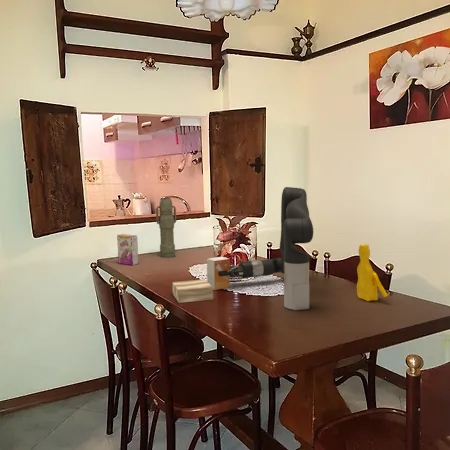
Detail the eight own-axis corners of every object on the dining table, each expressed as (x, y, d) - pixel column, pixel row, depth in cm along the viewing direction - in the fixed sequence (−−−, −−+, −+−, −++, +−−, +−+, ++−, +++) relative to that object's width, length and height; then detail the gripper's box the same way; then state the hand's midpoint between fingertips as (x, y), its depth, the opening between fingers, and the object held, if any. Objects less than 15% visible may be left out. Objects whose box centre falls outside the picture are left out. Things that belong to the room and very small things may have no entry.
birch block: (213, 299, 185) (213, 287, 184) (178, 302, 181) (178, 290, 180) (204, 290, 198) (204, 279, 197) (172, 293, 194) (172, 282, 194)
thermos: (179, 256, 276) (177, 198, 272) (161, 258, 271) (158, 199, 267) (174, 254, 284) (172, 197, 280) (156, 256, 279) (153, 198, 274)
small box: (214, 290, 198) (214, 260, 196) (207, 287, 203) (206, 258, 202) (230, 287, 203) (229, 258, 201) (222, 284, 208) (221, 256, 206)
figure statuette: (391, 304, 174) (393, 246, 171) (375, 306, 171) (376, 248, 168) (360, 292, 190) (361, 240, 188) (345, 295, 187) (345, 241, 185)
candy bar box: (117, 263, 258) (116, 234, 256) (124, 262, 263) (123, 233, 261) (132, 265, 252) (131, 236, 250) (138, 264, 257) (137, 234, 255)
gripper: (246, 257, 213) (211, 260, 208) (256, 263, 199) (220, 266, 195) (246, 273, 214) (212, 276, 209) (256, 280, 200) (220, 284, 196)
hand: (216, 271), depth 202 cm, fingers closed on small box, 8 cm apart
